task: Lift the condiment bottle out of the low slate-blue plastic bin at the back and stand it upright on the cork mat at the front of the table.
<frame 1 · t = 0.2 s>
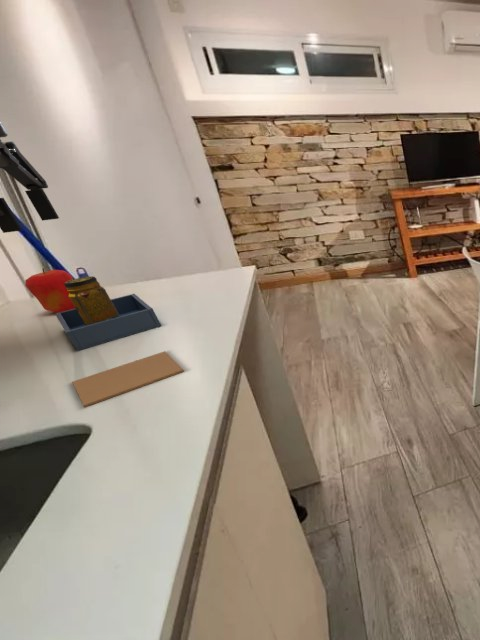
hand: (33, 225, 102), 25 cm above the worktop, tool pointing down, fingers open, 13 cm apart
condiment: (112, 327, 113), resting on bin
bin: (113, 328, 113), on the worktop
apple: (67, 310, 128), on the worktop
mat: (129, 377, 89), on the worktop
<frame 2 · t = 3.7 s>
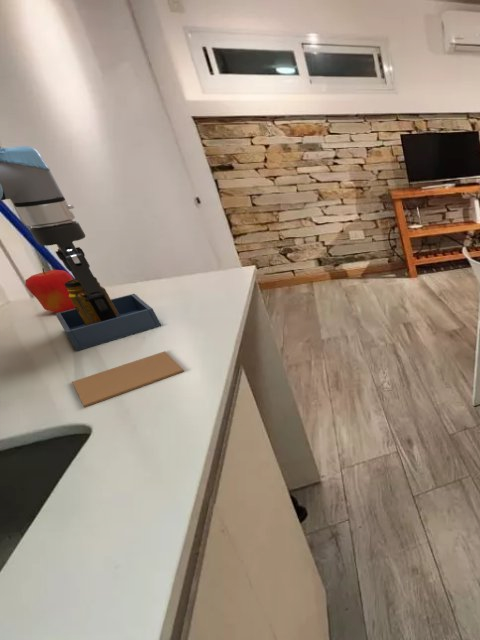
hand: (109, 320, 112), 2 cm above the worktop, tool pointing down, fingers closed on condiment, 6 cm apart
condiment: (112, 327, 113), resting on bin, touching gripper
everything else where it was.
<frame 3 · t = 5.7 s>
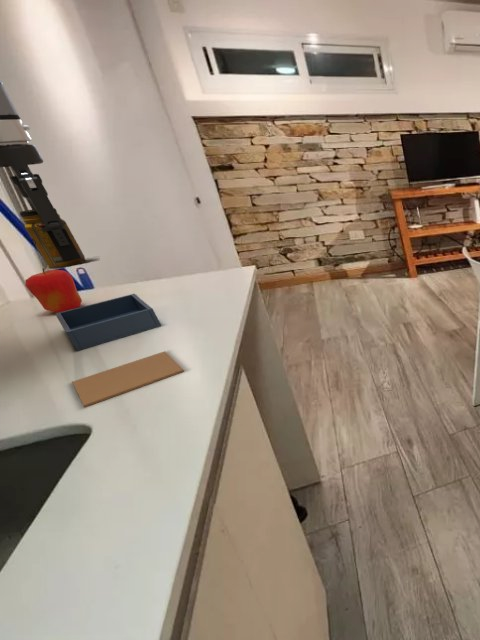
hand: (70, 257, 104), 18 cm above the worktop, tool pointing down, fingers closed on condiment, 6 cm apart
condiment: (74, 264, 104), point 16 cm above the worktop, touching gripper
everything else where it was.
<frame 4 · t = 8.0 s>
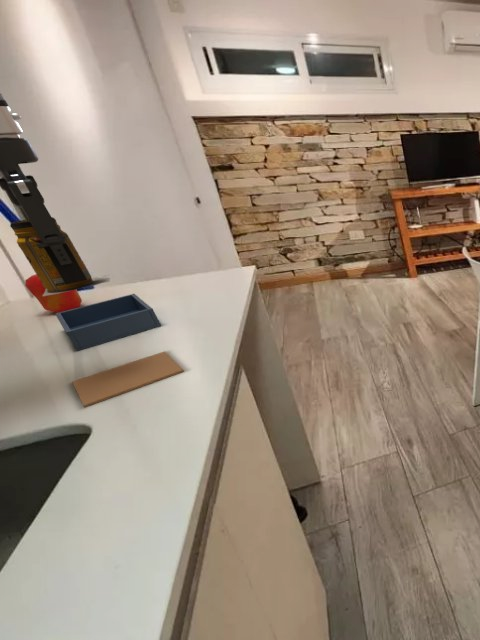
hand: (73, 278, 84), 19 cm above the worktop, tool pointing down, fingers closed on condiment, 6 cm apart
condiment: (79, 287, 85), point 17 cm above the worktop, touching gripper
everything else where it was.
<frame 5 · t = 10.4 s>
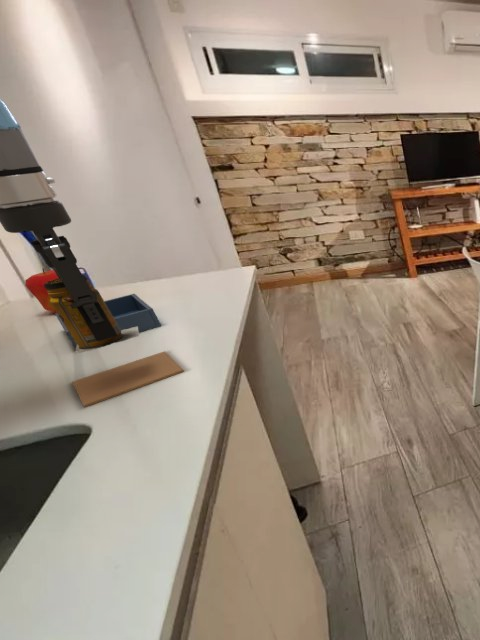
hand: (103, 333, 85), 9 cm above the worktop, tool pointing down, fingers closed on condiment, 6 cm apart
condiment: (109, 341, 86), point 8 cm above the worktop, touching gripper
everything else where it was.
when the fingers open (2 cm above the worktop, at t = 12.4 s): condiment stays where it is, resting on mat.
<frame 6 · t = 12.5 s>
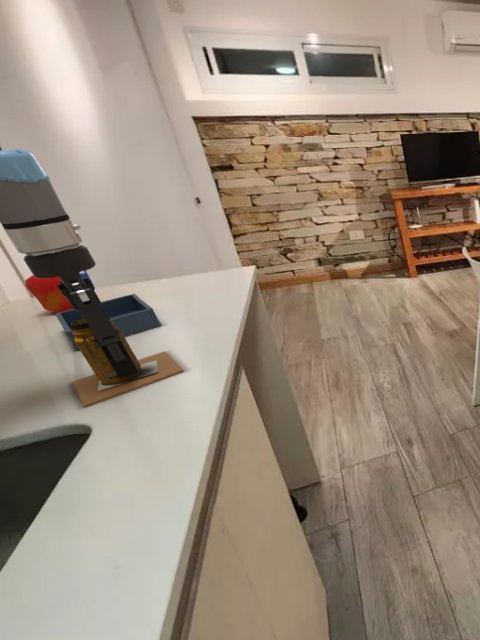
hand: (125, 369, 89), 2 cm above the worktop, tool pointing down, fingers open, 6 cm apart
condiment: (129, 376, 89), resting on mat
everything else where it was.
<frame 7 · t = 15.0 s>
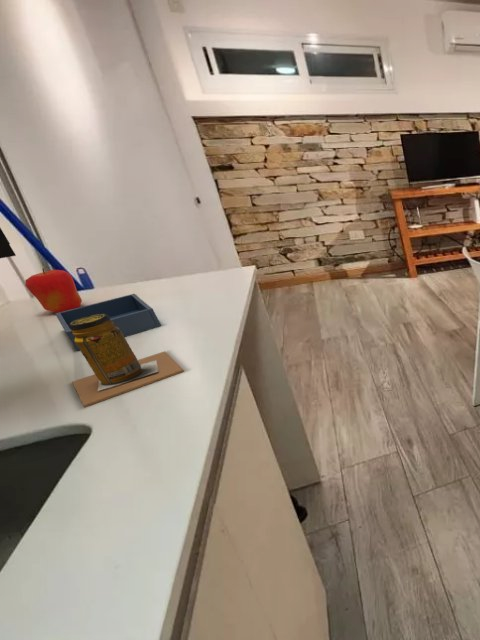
hand: (0, 251, 78), 25 cm above the worktop, tool pointing down, fingers open, 13 cm apart
nothing on the worktop moved.
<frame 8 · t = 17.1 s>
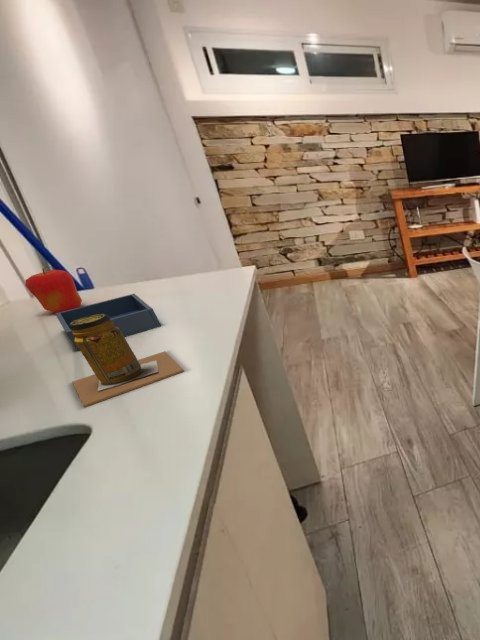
nothing on the worktop moved.
at the end: condiment inside the target area on the mat (0.3 cm from its centre), point 0.2 cm above the mat's base; condiment tilted 0°; condiment touching mat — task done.
